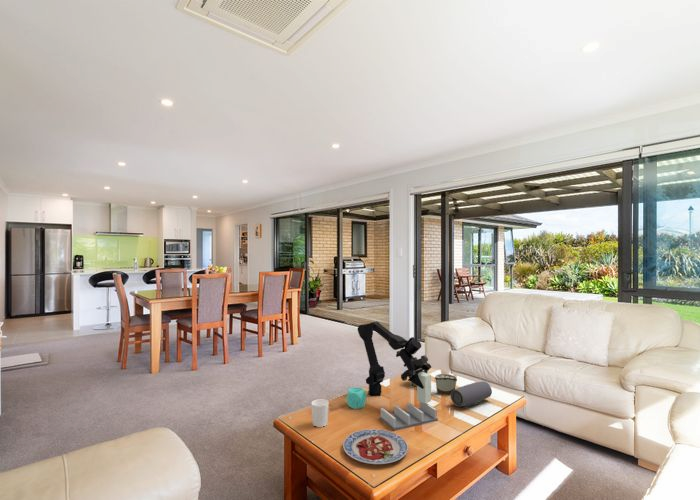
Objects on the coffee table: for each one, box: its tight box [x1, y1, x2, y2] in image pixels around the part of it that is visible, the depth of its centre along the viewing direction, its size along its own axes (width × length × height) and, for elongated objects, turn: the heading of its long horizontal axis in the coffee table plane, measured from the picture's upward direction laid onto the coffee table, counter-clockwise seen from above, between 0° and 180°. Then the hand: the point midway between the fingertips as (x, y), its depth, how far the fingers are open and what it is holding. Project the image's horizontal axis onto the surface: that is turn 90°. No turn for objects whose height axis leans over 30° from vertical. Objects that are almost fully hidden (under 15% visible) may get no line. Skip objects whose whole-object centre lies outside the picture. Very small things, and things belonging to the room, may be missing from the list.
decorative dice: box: [346, 387, 367, 410], centre depth 184 cm, size 8×8×8 cm
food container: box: [434, 373, 458, 397], centre depth 201 cm, size 12×6×10 cm, turn 84°
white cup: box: [311, 398, 330, 428], centre depth 164 cm, size 8×8×10 cm
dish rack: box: [379, 401, 439, 432], centre depth 169 cm, size 13×24×5 cm, turn 114°
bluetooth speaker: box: [450, 381, 493, 407], centre depth 187 cm, size 23×9×10 cm, turn 122°
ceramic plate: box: [342, 428, 409, 465], centre depth 142 cm, size 26×26×3 cm
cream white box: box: [416, 372, 432, 404], centre depth 175 cm, size 4×5×13 cm
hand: (426, 387), depth 174 cm, fingers closed on cream white box, 4 cm apart
